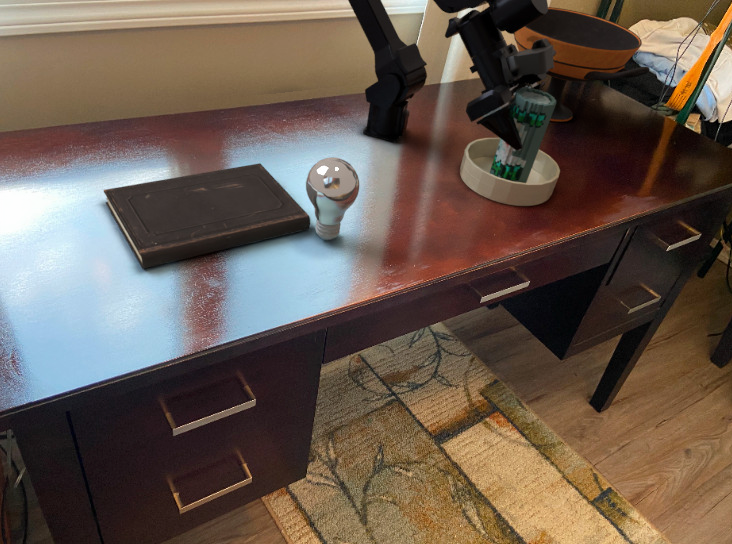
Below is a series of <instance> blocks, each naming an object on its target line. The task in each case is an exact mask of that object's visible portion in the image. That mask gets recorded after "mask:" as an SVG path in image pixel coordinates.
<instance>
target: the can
mask: <svg viewBox="0 0 732 544" xmlns="http://www.w3.org/2000/svg"><path fill="white" fill-rule="evenodd" d="M513 98H514V99H513V102H514V101H516V102H515V106H514V110H513V114H512V115H513V118H514V121H515V124H516V127H517V130H518V133H519V136H520V139H521V142H522V146H523V147H522V149H520V150H517V151H516V150H515V149H514V148H512V147H511V146H510V145H508V144H507V143H506V142H505V141H503V140H502V139H500V142H499V145H498V148H497V151H496V154H495V157H494V160H493V163H492V166H491V169H490V172H489V173H490V174H492V175H494V176H497V177H499V178H503V179H506V180H510V181H514V182H521V183H526V182H527V179H528V177H529V174H530V172H531V169H532V166H533V164H534V161H535V158H536V156H537V153H538V150H539V149H541V148H540V147H541V145H542V143H543V140H544V137H545V134H546V132H547V129H548V126H549V124H550V119H551V116H552V113H553V111H554V108H555V105H556V101H557V100H555V98H554V97H553V96H551V95H550V94H548V93H547V92H546V91H543V90H542V91H541V90H538V89H534V88H533V89H530V88H519V89H518V90H516V93H515V96H514V95H513Z"/></svg>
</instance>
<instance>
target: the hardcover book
mask: <svg viewBox="0 0 732 544" xmlns="http://www.w3.org/2000/svg"><path fill="white" fill-rule="evenodd" d="M103 194H104V196H105V197H106V198H105V199H106V200H107V201H105V205H106V207H107V209H108V210H109V212H110V214H111V216H112V218H113V219H114V221H115V223H116V224H117V227H118V228H119V230H120V232H121V234H122V235H123V237H124V239H125V241H126V242H127V244H128V246H129V248H130V250H131V251H132V253H133V255H134V256H135V258H136V260H137V262H138V263H139V265H140V267H141V269H146V268H151V267H155V266H160V265H164V264H168V263H172V262H176V261H181V260H185V259H190V258H193V257H197V256H201V255H206V254H209V253H210V254H211V253H215V252H219V251H223V250H228V249H230V248H236V247H239V246H245V245H248V244H252V243H255V242H260V241H265V240H269V239H274V238H277V237H281V236H285V235H290V234H294V233H298V232H302V231H306V230H309V229H310V228H311V217H310V215H309V214H308V213H307V212H306V211H305V210H304V209H303V208H302V207H301V205H300V204H299V203H298V202H297V201H296V200H295V199H294V198H293V197H292V196H291V194H290V193H289V192H288V191H286V189H285V188H284V187H283V186H282V184H280V182H279V181H277V179H276V178H275V177H274V176H273V175H272V174H271V173H270V172H269V171H268V170H267V169H266V167H264V165H263V164H262V163H254V164H248V165H242V166H235V167H231V168H224V169H219V170H212V171H206V172H201V173H196V174H189V175H184V176H177V177H171V178H166V179H161V180H153V181H147V182H142V183H136V184H135V183H134V184H129V185H124V186H118V187H113V188H107V189H103Z"/></svg>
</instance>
